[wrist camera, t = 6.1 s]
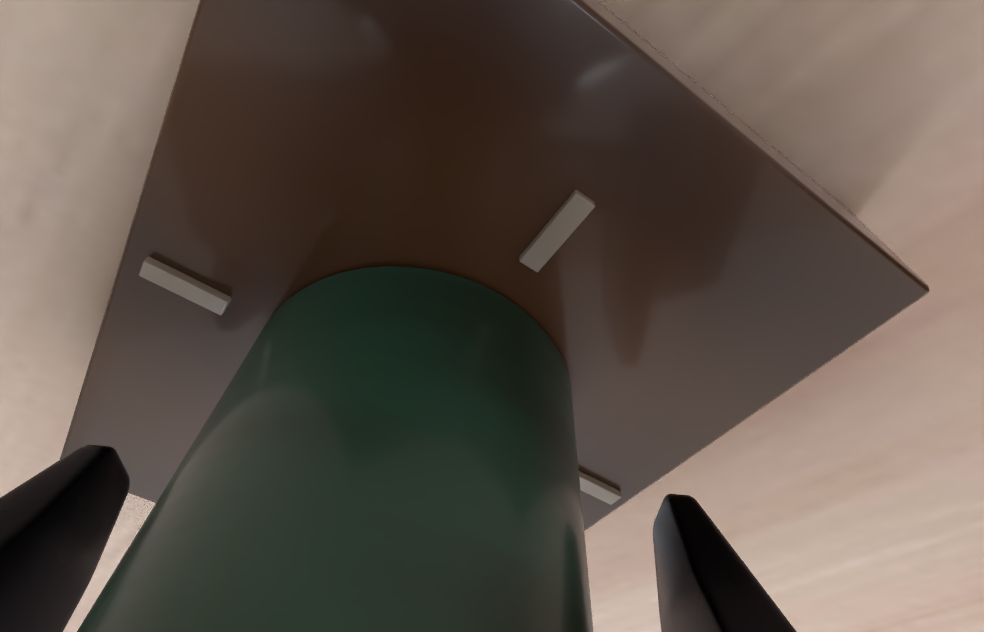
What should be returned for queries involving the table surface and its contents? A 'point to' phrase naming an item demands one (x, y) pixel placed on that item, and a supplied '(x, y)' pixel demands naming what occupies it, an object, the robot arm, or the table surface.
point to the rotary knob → (373, 476)
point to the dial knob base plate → (478, 221)
